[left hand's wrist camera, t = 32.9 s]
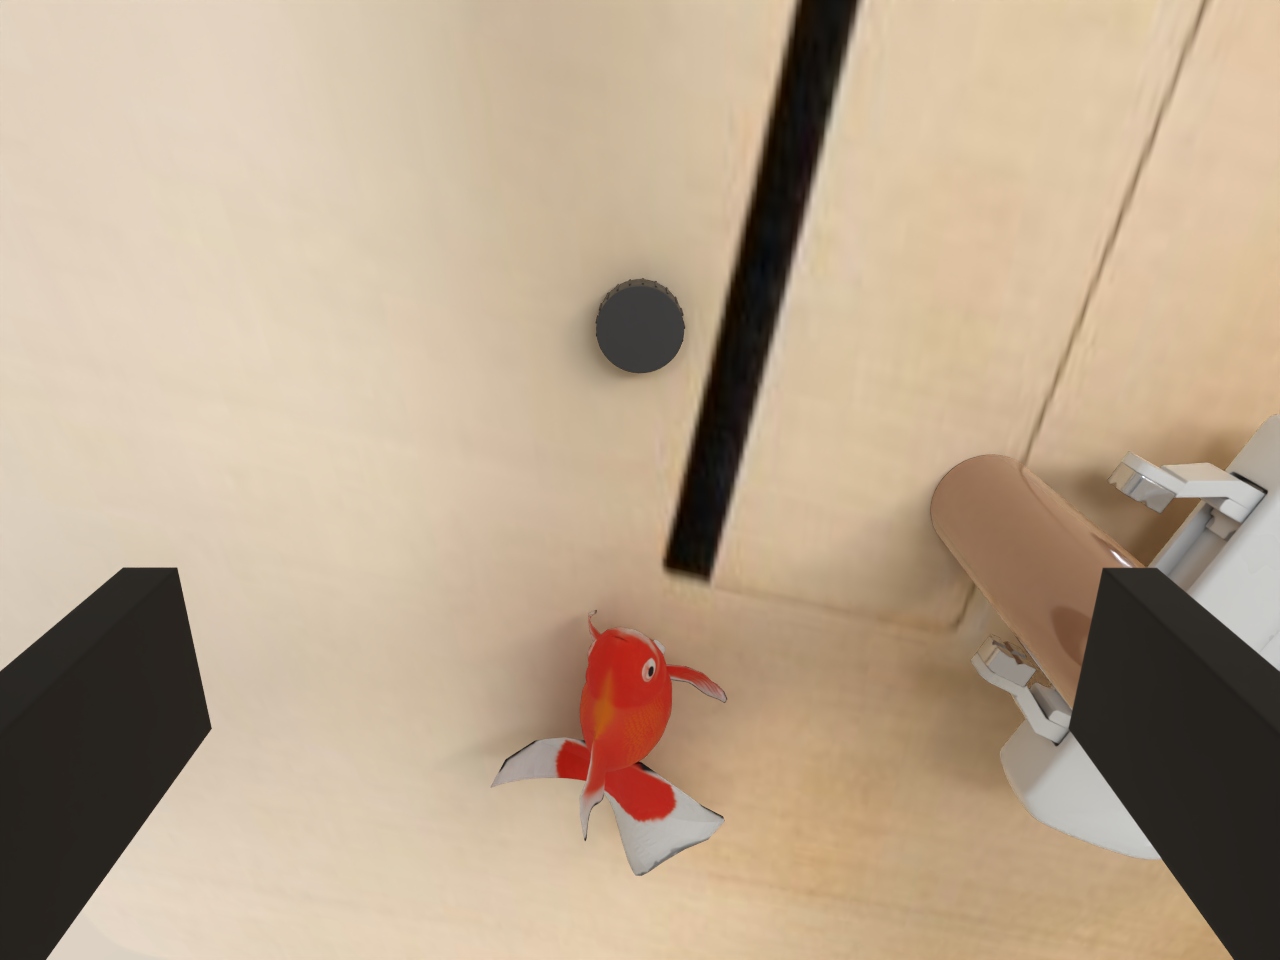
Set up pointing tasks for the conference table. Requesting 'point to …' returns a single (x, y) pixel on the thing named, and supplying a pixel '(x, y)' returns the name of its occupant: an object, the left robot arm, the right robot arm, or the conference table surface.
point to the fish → (625, 748)
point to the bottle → (1028, 558)
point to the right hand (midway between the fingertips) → (1051, 566)
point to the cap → (640, 326)
